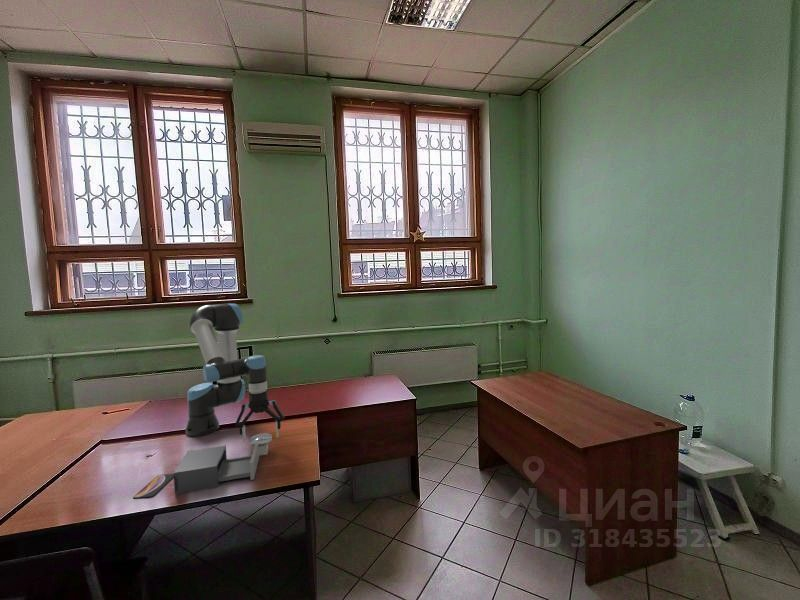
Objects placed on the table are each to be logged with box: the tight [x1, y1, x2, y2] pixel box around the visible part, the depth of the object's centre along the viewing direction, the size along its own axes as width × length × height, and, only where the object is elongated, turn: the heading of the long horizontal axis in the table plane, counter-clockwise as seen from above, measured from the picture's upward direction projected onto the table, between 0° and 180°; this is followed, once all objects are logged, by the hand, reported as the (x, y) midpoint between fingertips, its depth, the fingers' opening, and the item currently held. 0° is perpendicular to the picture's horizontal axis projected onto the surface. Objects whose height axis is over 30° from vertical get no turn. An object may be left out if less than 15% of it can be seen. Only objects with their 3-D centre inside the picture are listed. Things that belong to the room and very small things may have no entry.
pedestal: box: [258, 444, 269, 457], centre depth 155 cm, size 5×5×5 cm
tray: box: [218, 443, 260, 483], centre depth 139 cm, size 17×14×7 cm
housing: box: [172, 444, 228, 495], centre depth 136 cm, size 17×14×8 cm
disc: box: [249, 432, 273, 447], centre depth 155 cm, size 9×9×2 cm
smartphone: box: [132, 473, 174, 500], centre depth 132 cm, size 8×1×15 cm
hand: (261, 438), depth 154 cm, fingers open, 13 cm apart
